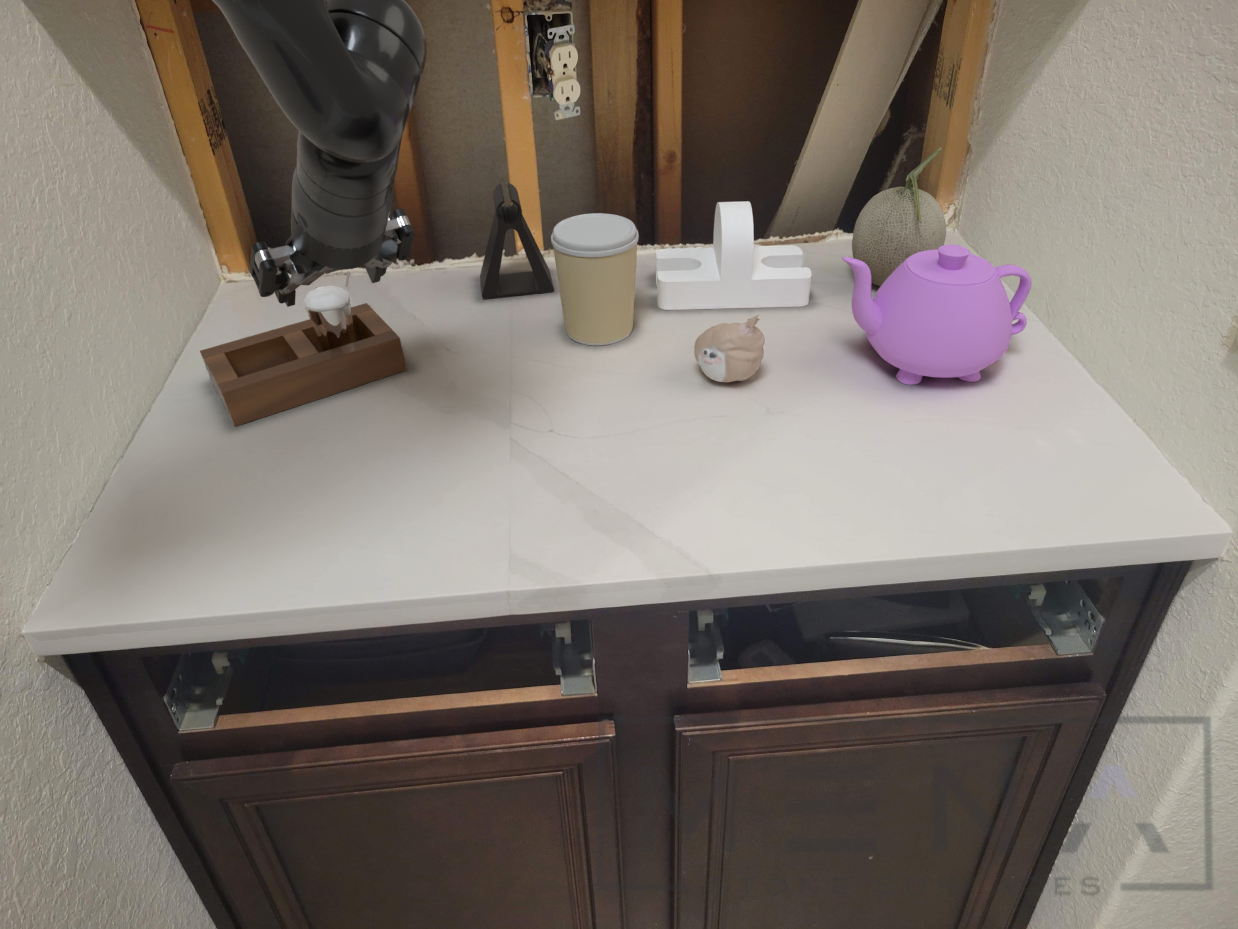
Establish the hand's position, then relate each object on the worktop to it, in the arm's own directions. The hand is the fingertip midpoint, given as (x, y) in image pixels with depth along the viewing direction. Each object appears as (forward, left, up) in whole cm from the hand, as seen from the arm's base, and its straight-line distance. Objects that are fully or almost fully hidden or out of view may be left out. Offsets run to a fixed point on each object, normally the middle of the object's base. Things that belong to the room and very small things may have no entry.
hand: (329, 285), depth 81 cm
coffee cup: (+28, 0, -11) cm, 30 cm away
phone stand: (+22, +15, -11) cm, 28 cm away
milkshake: (0, +3, -11) cm, 11 cm away
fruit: (+65, -3, -11) cm, 66 cm away
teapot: (+57, -20, -11) cm, 61 cm away
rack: (-4, +2, -11) cm, 12 cm away
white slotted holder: (+46, +3, -11) cm, 47 cm away
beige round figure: (+37, -15, -11) cm, 41 cm away
